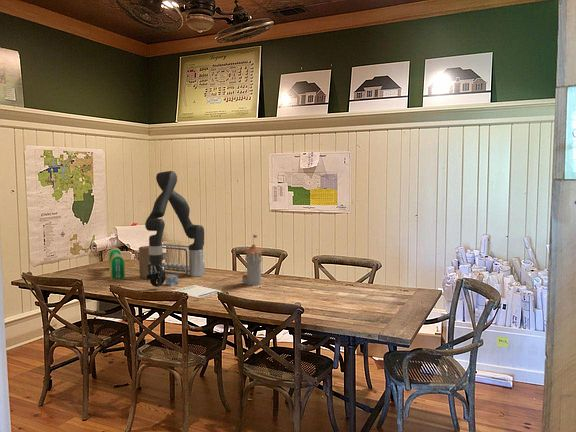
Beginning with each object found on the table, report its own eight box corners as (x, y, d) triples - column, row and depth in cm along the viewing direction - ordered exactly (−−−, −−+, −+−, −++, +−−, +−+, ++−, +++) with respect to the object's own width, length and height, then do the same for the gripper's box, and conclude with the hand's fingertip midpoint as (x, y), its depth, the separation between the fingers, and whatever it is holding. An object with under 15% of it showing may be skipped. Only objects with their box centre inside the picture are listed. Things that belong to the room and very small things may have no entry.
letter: (194, 285, 282) (194, 284, 282) (222, 291, 267) (222, 290, 267) (170, 291, 268) (170, 290, 268) (198, 298, 253) (198, 297, 253)
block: (148, 279, 296) (147, 248, 295) (139, 277, 302) (138, 246, 301) (161, 277, 304) (160, 246, 303) (152, 275, 310) (151, 245, 309)
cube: (172, 283, 287) (172, 275, 287) (178, 284, 284) (178, 276, 284) (166, 284, 283) (165, 276, 283) (171, 286, 280) (171, 277, 280)
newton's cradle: (151, 271, 322) (150, 245, 320) (161, 268, 331) (160, 243, 330) (187, 275, 309) (186, 248, 307) (196, 272, 319) (196, 246, 317)
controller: (167, 285, 274) (166, 268, 273) (151, 289, 264) (150, 272, 263) (161, 284, 276) (161, 267, 276) (145, 288, 266) (145, 271, 265)
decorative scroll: (108, 269, 331) (108, 247, 330) (121, 268, 335) (120, 247, 333) (111, 279, 299) (110, 256, 297) (125, 278, 302) (124, 255, 300)
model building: (259, 286, 277) (258, 236, 275) (239, 286, 280) (239, 235, 277) (265, 281, 291) (264, 233, 288) (246, 280, 293) (245, 232, 291)
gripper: (169, 253, 267) (169, 283, 269) (153, 251, 276) (154, 280, 277) (158, 255, 261) (158, 286, 263) (142, 253, 270) (143, 282, 271)
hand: (156, 282), depth 270 cm, fingers closed on controller, 4 cm apart
